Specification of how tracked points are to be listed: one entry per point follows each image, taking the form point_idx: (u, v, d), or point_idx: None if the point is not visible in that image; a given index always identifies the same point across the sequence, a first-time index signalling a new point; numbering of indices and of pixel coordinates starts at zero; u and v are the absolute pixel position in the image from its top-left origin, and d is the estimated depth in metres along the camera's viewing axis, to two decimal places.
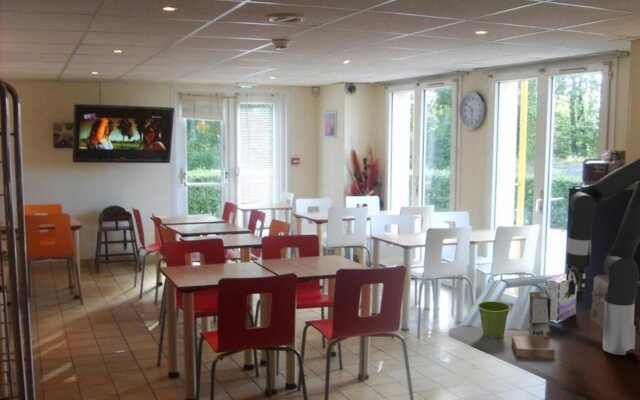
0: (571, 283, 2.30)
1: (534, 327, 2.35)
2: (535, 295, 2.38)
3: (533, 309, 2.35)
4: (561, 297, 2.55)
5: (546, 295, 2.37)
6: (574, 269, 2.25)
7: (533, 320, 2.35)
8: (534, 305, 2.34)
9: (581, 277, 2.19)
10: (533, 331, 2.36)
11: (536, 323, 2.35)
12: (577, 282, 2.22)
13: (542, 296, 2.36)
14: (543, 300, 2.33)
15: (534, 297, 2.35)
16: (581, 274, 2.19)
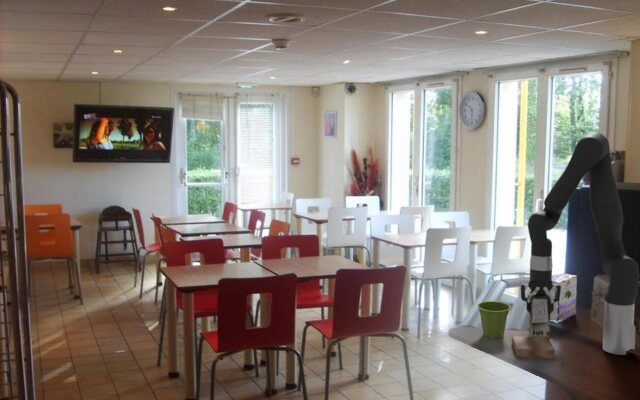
0: (530, 301, 2.38)
1: (534, 327, 2.35)
2: (535, 295, 2.38)
3: (533, 309, 2.35)
4: (561, 297, 2.55)
5: (546, 295, 2.37)
6: (541, 284, 2.36)
7: (533, 320, 2.35)
8: (534, 305, 2.34)
9: None
10: (533, 331, 2.36)
11: (536, 323, 2.35)
12: None
13: (542, 296, 2.36)
14: (543, 300, 2.33)
15: (534, 297, 2.35)
16: None
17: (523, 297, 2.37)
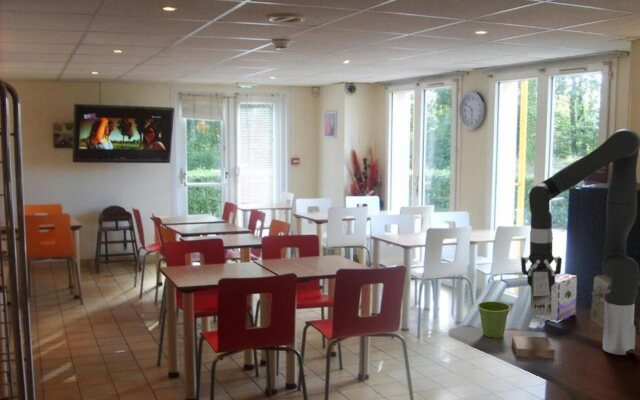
0: (531, 274, 2.37)
1: (535, 300, 2.34)
2: (536, 268, 2.37)
3: (534, 282, 2.33)
4: (561, 297, 2.55)
5: (547, 268, 2.36)
6: (542, 257, 2.35)
7: (534, 293, 2.34)
8: (535, 278, 2.33)
9: None
10: (534, 304, 2.34)
11: (537, 296, 2.34)
12: (551, 268, 2.35)
13: (543, 269, 2.35)
14: (544, 273, 2.32)
15: (534, 270, 2.34)
16: None
17: (524, 270, 2.36)
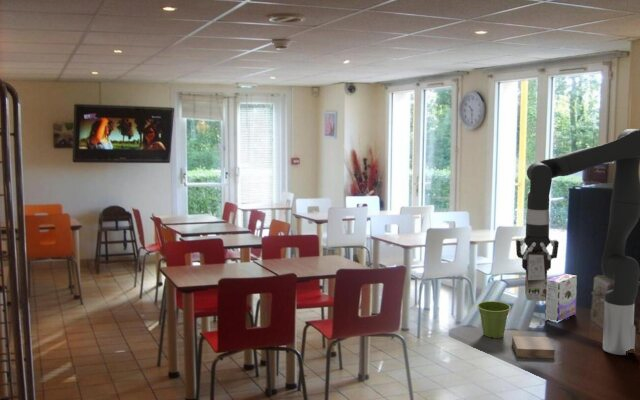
0: (526, 258, 2.27)
1: (530, 285, 2.24)
2: (531, 251, 2.26)
3: (529, 265, 2.23)
4: (561, 297, 2.55)
5: None
6: (538, 240, 2.24)
7: (529, 277, 2.24)
8: (530, 261, 2.23)
9: None
10: (529, 289, 2.24)
11: (532, 280, 2.23)
12: None
13: (539, 252, 2.24)
14: (539, 256, 2.22)
15: (530, 253, 2.24)
16: None
17: (519, 253, 2.26)
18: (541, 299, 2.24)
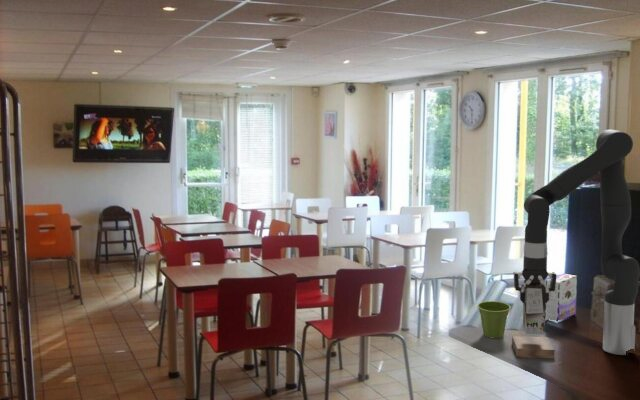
0: None
1: (528, 318, 2.22)
2: (529, 284, 2.25)
3: (527, 299, 2.21)
4: (561, 297, 2.55)
5: (541, 284, 2.24)
6: (536, 273, 2.23)
7: (527, 311, 2.22)
8: (528, 295, 2.21)
9: None
10: (527, 322, 2.22)
11: (530, 314, 2.22)
12: None
13: (537, 285, 2.23)
14: (538, 289, 2.20)
15: (528, 286, 2.22)
16: None
17: (516, 286, 2.24)
18: (539, 332, 2.22)
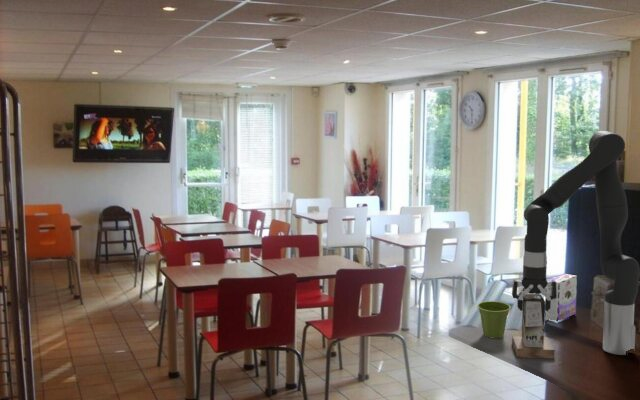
0: (521, 299, 2.25)
1: (527, 331, 2.23)
2: (528, 297, 2.25)
3: (526, 312, 2.22)
4: (561, 297, 2.55)
5: (540, 297, 2.25)
6: (535, 282, 2.23)
7: (526, 324, 2.22)
8: (527, 308, 2.22)
9: (555, 285, 2.23)
10: (526, 335, 2.23)
11: (529, 327, 2.22)
12: (546, 292, 2.23)
13: (536, 298, 2.23)
14: (537, 303, 2.21)
15: (527, 299, 2.23)
16: (555, 282, 2.22)
17: (514, 294, 2.25)
18: (539, 345, 2.23)
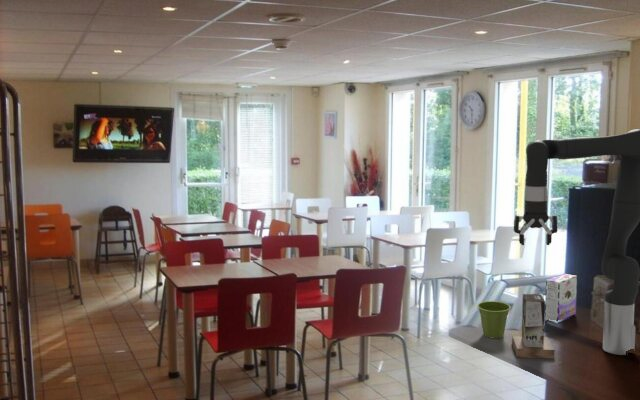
0: None
1: (527, 331, 2.23)
2: (528, 297, 2.25)
3: (526, 312, 2.22)
4: (561, 297, 2.55)
5: (540, 297, 2.25)
6: (537, 216, 2.28)
7: (526, 324, 2.22)
8: (527, 308, 2.22)
9: (556, 219, 2.28)
10: (526, 335, 2.23)
11: (529, 327, 2.22)
12: (547, 227, 2.28)
13: (536, 298, 2.23)
14: (537, 303, 2.21)
15: (527, 299, 2.23)
16: None
17: (516, 229, 2.30)
18: (539, 345, 2.23)
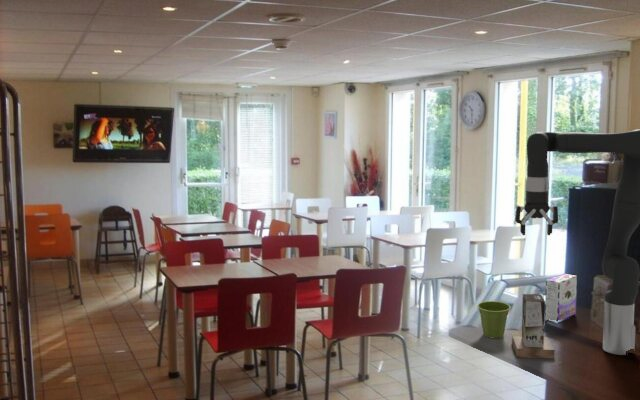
0: (524, 223, 2.34)
1: (527, 331, 2.23)
2: (528, 297, 2.25)
3: (526, 312, 2.22)
4: (561, 297, 2.55)
5: (540, 297, 2.25)
6: (538, 207, 2.32)
7: (526, 324, 2.22)
8: (527, 308, 2.22)
9: (557, 210, 2.32)
10: (526, 335, 2.23)
11: (529, 327, 2.22)
12: (548, 217, 2.32)
13: (536, 298, 2.23)
14: (537, 303, 2.21)
15: (527, 299, 2.23)
16: None
17: (517, 219, 2.33)
18: (539, 345, 2.23)
